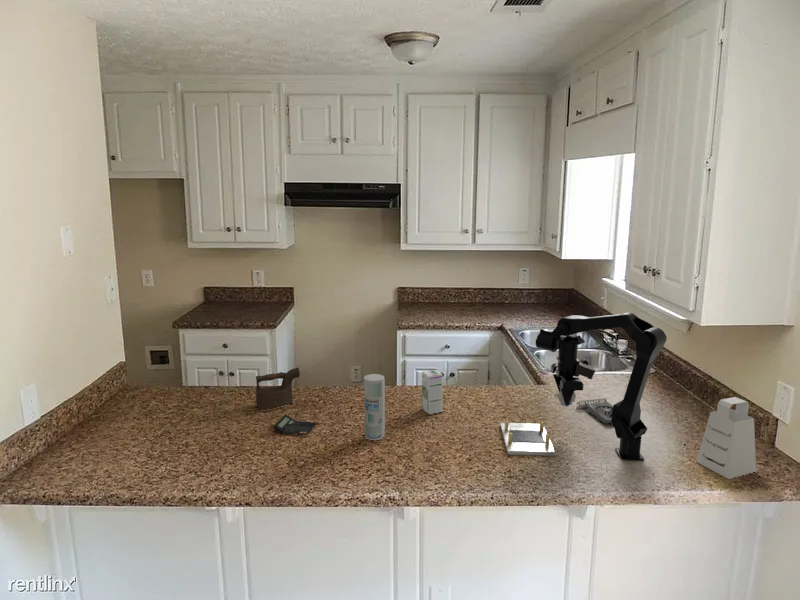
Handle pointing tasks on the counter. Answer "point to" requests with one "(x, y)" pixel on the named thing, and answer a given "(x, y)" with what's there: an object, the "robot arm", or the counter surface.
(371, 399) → the spray can
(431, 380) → the syrup box
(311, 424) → the calculator
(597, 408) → the graphics card
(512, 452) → the chassis plate
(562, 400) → the electric motor
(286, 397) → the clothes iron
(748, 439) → the grater
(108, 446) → the counter surface
